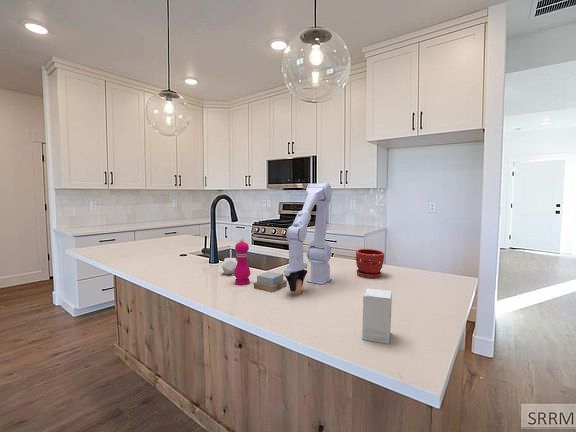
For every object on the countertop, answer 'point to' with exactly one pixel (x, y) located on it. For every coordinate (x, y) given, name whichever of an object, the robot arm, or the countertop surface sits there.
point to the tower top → (270, 278)
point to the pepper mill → (242, 263)
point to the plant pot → (369, 262)
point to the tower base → (269, 287)
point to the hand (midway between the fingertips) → (296, 289)
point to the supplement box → (377, 315)
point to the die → (229, 265)
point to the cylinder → (298, 287)
